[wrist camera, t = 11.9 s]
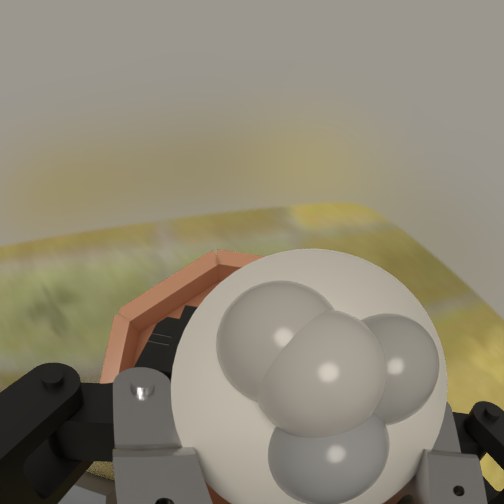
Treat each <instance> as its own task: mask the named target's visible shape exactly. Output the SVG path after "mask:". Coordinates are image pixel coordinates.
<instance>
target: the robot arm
mask: <svg viewBox="0 0 504 504" xmlns="http://www.w3.org/2000/svg"><path fill="white" fill-rule="evenodd" d="M197 308H198V307H195V306H189V305H185V307H184V309H183V312H182V314H181V316H180V319H177V318H172V317H166V318H164V319H163V320H161V321H160V322H158V323H157V324H156V326H155V328H154V330H153V331H152V334H151V335H150V337H149V339H148V342H147V343H146V345H145V347H144V348H143V350H142V352H141V354H140V356H139V358H138V360H137V362H136V364H135V366H134V368H130V369H126V370H124V371H122V372H121V373H119V374H118V375H117V376H116V377H115V379H114V381H113V382H112V383H103V384H100V383H81V381H80V377H79V374H78V373H77V372H76V371H75V370H74V369H73V368H72V367H70V366H68V365H65V364H61V363H46V364H42V365H40V366H37V367H36V368H34V369H33V370H31V371H30V372H28V373H27V374H26V375H24V376H23V377H21V378H20V379H19V380H17V381H16V382H14V383H13V384H12V385H10V386H9V387H7V388H6V389H5V390H3V391H2V392H1V393H0V504H58V503H59V502H60V501H61V499H62V498H63V497H64V496H65V495H66V494H67V492H68V491H69V490H70V489H71V488H72V487H73V485H74V484H75V483H76V482H77V481H78V480H79V478H80V477H81V476H82V475H83V474H84V473H85V471H86V470H87V469H88V468H89V467H90V466H91V464H92V463H93V462H94V461H108V462H113V468H114V479H115V488H116V497H117V504H213V503H212V500H211V498H210V495H209V492H208V489H207V486H206V483H205V480H204V477H203V474H202V471H201V468H200V465H199V462H198V459H197V456H196V453H195V450H194V448H193V447H182V444H181V441H180V438H179V436H178V433H177V430H176V427H175V422H174V417H173V412H172V404H171V378H172V369H173V363H174V359H175V355H176V351H177V347H178V345H179V342H180V340H181V337H182V335H183V332H184V330H185V328H186V326H187V324H188V322H189V321H190V319H191V317H192V315H193V314H194V312H195V310H196V309H197ZM486 453H488V454H489V455H490V456H491V457H492V458H493V459H494V460H495V461H496V462H497V463H498V464H499V465H500V467H501V468H502V469H503V470H504V411H503V410H502V409H501V408H499V407H498V406H497V405H495V404H493V403H490V402H486V401H481V402H477V403H476V404H475V405H474V406H473V408H472V410H471V411H470V413H469V414H463V413H457V412H452V409H451V407H450V405H449V404H448V402H446V408H445V413H444V418H443V422H442V425H441V428H440V431H439V434H438V437H437V439H436V441H435V444H434V446H433V448H432V450H430V449H424V450H423V454H422V457H421V460H420V463H419V466H418V469H417V472H416V474H415V475H414V476H413V478H412V479H411V480H410V481H409V482H408V483H407V484H406V485H405V486H404V487H403V488H402V489H401V490H400V491H398V492H397V493H396V494H395V495H393V496H392V497H391V498H389V499H388V500H387V501H385V502H384V503H382V504H504V489H503V490H502V491H496V490H495V489H494V488H493V487H492V486H491V485H490V483H489V482H488V481H487V480H486V479H485V478H484V477H483V476H482V471H481V466H480V460H481V459H482V458H483V457H484V455H485V454H486Z"/></svg>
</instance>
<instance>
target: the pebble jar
mask: <svg viewBox="0 0 504 504" xmlns="http://www.w3.org/2000/svg"><path fill="white" fill-rule="evenodd" d="M447 385H448V384H447V369H446V363H445V357H444V352H443V349H442V346H441V342H440V339H439V336H438V334H437V332H436V330H435V327H434V325H433V323H432V321H431V319H430V318H429V316H428V314H427V313H426V311H425V309H424V308H423V307H422V305H421V304H420V303H419V301H418V300H417V299H416V297H415V296H414V295H413V294H412V293H411V292H410V291H409V290H408V289H407V288H406V287H405V286H404V285H403V284H402V283H401V282H400V281H398V280H397V279H396V278H395V277H394V276H392V275H391V274H389V273H388V272H386V271H385V270H383V269H382V268H380V267H379V266H377V265H375V264H373V263H371V262H369V261H367V260H365V259H362V258H359V257H356V256H353V255H351V254H347V253H343V252H338V251H334V250H325V249H297V250H290V251H283V252H279V253H276V254H272V255H268V256H265V257H263V258H260V259H258V260H256V261H253V262H251V263H249V264H247V265H245V266H244V267H242V268H240V269H238V270H237V271H235V272H234V273H232V274H231V275H230V276H228V277H227V278H226V279H224V280H223V281H222V282H220V283H219V284H218V285H217V286H216V287H215V288H214V289H213V290H212V291H211V292H210V293H209V294H208V295H207V296H206V297H205V299H204V300H203V301H202V303H201V304H200V305H199V307H198V308H197V309H196V310H195V312H194V314H193V315H192V317H191V319H190V321H189V322H188V324H187V326H186V328H185V330H184V332H183V335H182V337H181V340H180V342H179V345H178V347H177V351H176V355H175V359H174V363H173V369H172V378H171V404H172V412H173V417H174V422H175V427H176V430H177V433H178V436H179V438H180V441H181V444H182V447H193V448H194V450H195V453H196V456H197V459H198V462H199V465H200V468H201V471H202V474H203V477H204V480H205V482H206V483H207V484H208V485H209V486H210V487H211V488H212V489H213V490H214V491H215V492H217V493H218V494H219V495H220V496H221V497H222V498H224V499H225V500H227V501H228V502H230V503H231V504H382V503H384V502H385V501H387V500H388V499H389V498H391V497H392V496H393V495H395V494H396V493H397V492H398V491H400V490H401V489H402V488H403V487H404V486H405V485H406V484H407V483H408V482H409V481H410V480H411V479H412V478H413V476H414V475H415V474H416V472H417V469H418V466H419V463H420V460H421V457H422V454H423V450H424V449H430V450H432V448H433V446H434V444H435V441H436V439H437V437H438V434H439V431H440V428H441V425H442V422H443V418H444V413H445V408H446V402H447Z"/></svg>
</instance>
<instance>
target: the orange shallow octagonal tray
mask: <svg viewBox="0 0 504 504" xmlns="http://www.w3.org/2000/svg"><path fill="white" fill-rule="evenodd" d="M263 257H265V256H259V255H252V254H246V253H239V252H233V251H226V250H220V249H218V251H217V255H216V254H215V253H214V252H213V250H212V251H210V252H209V253H207V254H205V255H204V256H202V257H201V258H199V259H197V260H196V261H194V262H193V263H191V264H189V265H188V266H186V267H185V268H183V269H181V270H180V271H178V272H177V273H175V274H174V275H172V276H170V277H169V278H167V279H166V280H164V281H162V282H161V283H159V284H158V285H156V286H155V287H153V288H151V289H150V290H148V291H147V292H145V293H144V294H142V295H141V296H139V297H137V298H136V299H134V300H133V301H131V302H130V303H128V304H127V305H125V306H123V307H122V308H120V309H119V312H120V314H121V315H122V316H120V315H115V316H114V320H113V324H112V328H111V333H110V337H109V341H108V346H107V350H106V355H105V360H104V364H103V369H102V374H101V380H100V384H103V383H112V382H113V381H114V379H115V377H116V376H117V375H118V374H119V373H121V372H122V371H124V370H126V369H130V368H134V366H135V364H136V362H137V360H138V358H139V356H140V354H141V352H142V350H143V348H144V347H145V345H146V343H147V342H148V339H149V337H150V335H151V334H152V331H153V330H154V328H155V326H156V324H157V323H158V322H160V321H161V320H163V319H164V318H166V317H172V318H177V319H180V316H181V314H182V312H183V309H184V307H185V305H189V306H195V307H199V305H200V304H201V303H202V301H203V300H204V299H205V297H206V296H207V295H208V294H209V293H210V292H211V291H212V290H213V289H214V288H215V287H216V286H217V285H218V284H219V283H220V282H222V281H223V280H224V279H226V278H227V277H228V276H230V275H231V274H232V273H234V272H235V271H237V270H238V269H240V268H242V267H244V266H245V265H247V264H249V263H251V262H253V261H256V260H258V259H260V258H263ZM205 483H206V482H205ZM206 486H207V489H208V492H209V495H210V498H211V500H212V503H213V504H231V503H230V502H228V501H227V500H225V499H224V498H222V497H221V496H220V495H219V494H218V493H217V492H215V491H214V490H213V489H212V488H211V487H210V486H209V485H208V484H207V483H206Z"/></svg>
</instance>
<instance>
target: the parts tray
mask: <svg viewBox="0 0 504 504" xmlns="http://www.w3.org/2000/svg"><path fill="white" fill-rule="evenodd" d="M58 504H117V497H116V488H115V481H113V480H110V479H106V478H103V477H100V476H97V475H94V474H91V473H89V472H86V471H85V473H84V474H83V475H82V476H81V477H80V478H79V480H78V481H77V482H76V483H75V484H74V485H73V487H72V488H71V489H70V490H69V491H68V492H67V494H66V495H65V496H64V497H63V498H62V499H61V501H60V502H59V503H58Z"/></svg>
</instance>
